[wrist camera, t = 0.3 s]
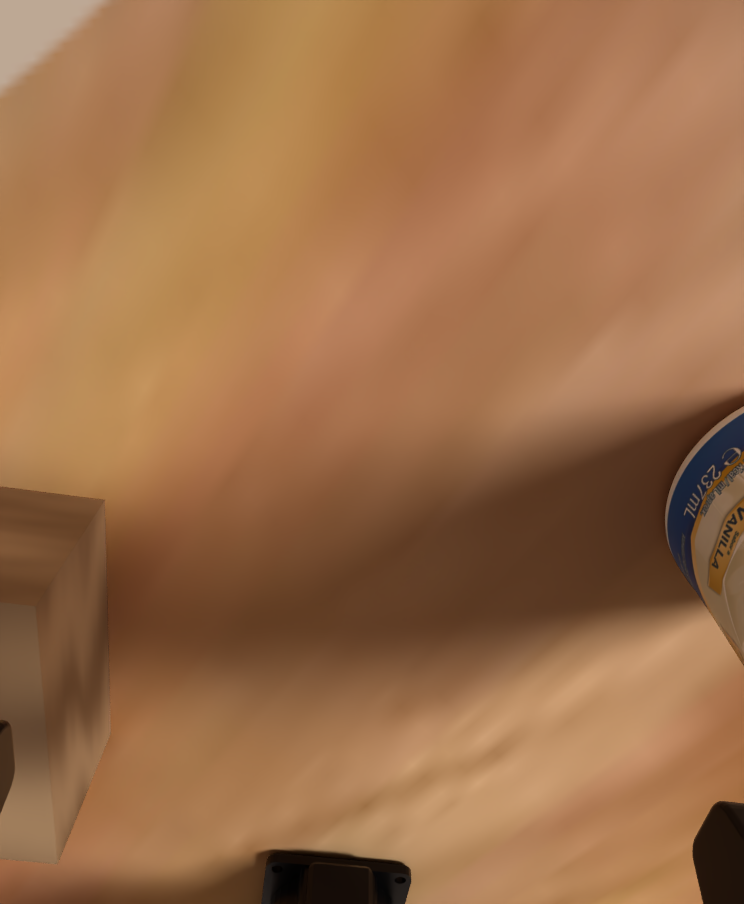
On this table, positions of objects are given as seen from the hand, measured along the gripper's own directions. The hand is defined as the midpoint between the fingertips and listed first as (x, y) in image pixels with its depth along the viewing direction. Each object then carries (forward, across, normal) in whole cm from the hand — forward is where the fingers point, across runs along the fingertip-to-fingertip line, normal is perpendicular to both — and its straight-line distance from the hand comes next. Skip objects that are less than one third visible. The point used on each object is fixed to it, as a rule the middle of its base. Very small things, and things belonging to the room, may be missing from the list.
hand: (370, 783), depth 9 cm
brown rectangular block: (+14, +10, +11) cm, 20 cm away
